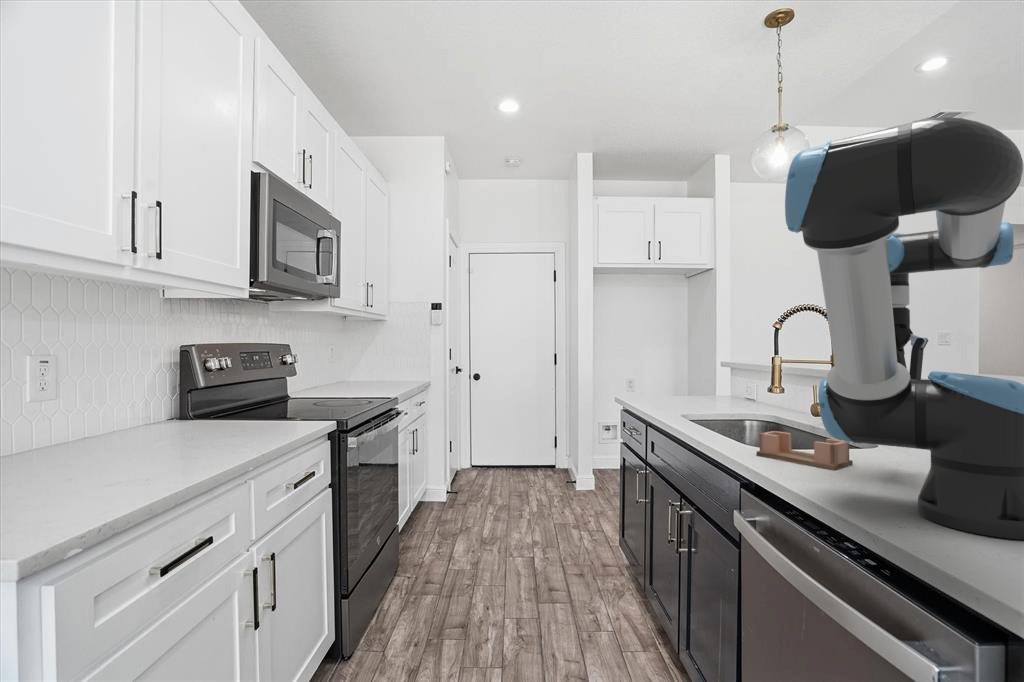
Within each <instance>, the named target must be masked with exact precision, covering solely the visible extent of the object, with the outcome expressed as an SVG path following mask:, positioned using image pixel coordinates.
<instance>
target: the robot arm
mask: <svg viewBox="0 0 1024 682" xmlns="http://www.w3.org/2000/svg"><path fill="white" fill-rule="evenodd" d="M1023 170H1024V160H1023V157H1022V154H1021V151H1020V149H1019V148H1018V146H1017V145H1016V143H1015V142H1013V140H1012V139H1011V138H1010V137H1008V136H1007V135H1006V134H1004V133H1003V132H1001V131H1000V130H998V129H996V128H994V127H992V126H991V125H987V124H985V123H983V122H979V121H977V120H973V119H972V120H971V119H968V118H967V119H966V118H961V117H952V116H950V117H949V116H941V117H940V116H939V117H928V118H922V119H919V120H914V121H912V122H907V123H903V124H900V125H897V126H893V127H888V128H884V129H880V130H876V131H872V132H871V131H870V132H867V133H863V134H859V135H854V136H850V137H845V138H841V139H837V140H833V141H832V140H829V141H827V142H826V143H824V144H823V143H822V144H820V145H816V146H813V147H809V148H806V149H803V150H801V151H799V153H797V154H796V155H795V156H794V157H793V158H792V161H791V163H790V166H789V169H788V172H787V179H786V186H785V195H784V196H785V199H784V215H785V224H786V226H787V229H788V231H790V232H792V233H793V232H794V233H796V234H798V233H800V232H802V237H803V242H804V245H805V246H806V247H808V248H810V249H812V250H814V251H816V254H817V259H818V265H819V271H820V277H821V284H822V285H821V286H822V292H823V297H824V305H825V311H826V316H827V322H828V329H829V337H830V343H831V349H832V354H833V355H832V356H833V361H834V365H833V366H832V367H831V368H830V369H829V371H828V373H827V375H826V376H825V377H823V378H822V379H821V380H820V382H819V385H818V386H819V387H818V392H817V393H818V395H817V398H818V404H819V407H818V408H819V414H820V418H821V421H822V424H823V427H824V428H825V430H826V432H827V433H828V435H829V436H830V437H832V439H834V440H841V441H848V442H849V443H850V442H851V443H854V444H859V445H860V444H865V445H866V444H867V445H877V446H878V445H879V446H889V447H898V448H899V447H900V448H906V449H908V448H909V449H918V450H925V451H930V469H929V470H928V473H927V475H926V477H925V479H924V482H923V485H922V487H921V489H920V492H919V495H918V496H917V497H918V498H917V512H918V515H920V516H922V517H923V518H925V519H927V520H929V521H932V522H934V523H937V524H939V525H942V526H946V527H948V528H951V529H955V530H958V531H963V532H968V533H972V534H976V535H983V536H986V537H987V536H988V537H994V538H999V539H1000V538H1002V539H1010V540H1024V384H1023V383H1021V382H1018V381H1016V380H1011V379H1004V378H999V377H991V376H985V375H976V374H969V373H968V374H966V373H959V372H949V371H948V372H947V371H937V370H936V371H935V370H934V371H930V372H929V374H928V375H927V379H922V372H923V371H922V370H923V359H924V349H925V348H926V346H927V344H928V342H929V339H928V338H927V337H920V336H918V335H916V334H914V333H913V331H912V330H911V316H910V315H911V309H909V308H908V307H907V306H909V305H910V281H909V280H910V279H909V277H910V274H915V273H923V272H924V273H925V272H935V271H936V272H937V271H938V272H939V271H948V270H949V271H950V270H962V269H975V268H980V269H981V268H982V269H985V268H988V267H995V266H996V267H997V266H1001V265H1002V266H1003V265H1007V264H1010V263H1011V262H1012V260H1013V258H1014V256H1013V255H1014V227H1013V225H1012V223H1010V222H1005V221H1003V217H1004V210H1005V206H1006V201H1008V200H1009V199H1010V198H1011V197H1012V196H1013V195H1014V193H1015V192H1016V191H1017V189H1018V187H1019V186H1020V183H1021V180H1022V177H1023V176H1022V175H1023ZM934 211H935V215H936V217H935V219H936V225H937V230H929V231H922V232H921V231H920V232H916V233H915V232H913V233H905V234H904V233H900V232H899V233H898V232H896V231H897V230H898V229H899V225H900V218H899V217H902V216H909V215H915V214H922V213H927V212H928V213H929V212H934ZM1002 221H1003V222H1002ZM909 341H910V345H911V346H912V347H911V353H910V361H909V363H910V364H909V370H908V367H907V364H906V357H905V355H906V354H905V348H904V347H905V346H907V344H908V343H909Z"/></svg>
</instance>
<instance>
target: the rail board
mask: <svg viewBox="0 0 1024 682" xmlns="http://www.w3.org/2000/svg"><path fill="white" fill-rule="evenodd" d="M755 454H756V456H757V457H761V458H762V457H763V458H767V459H771V460H772V459H773V460H777V461H784V462H787V463H793V464H798V465H804V466H809V467H810V466H811V467H814V468H821V469H825V470H828V471H829V470H830V471H837V470H840V469H843V468H846V467H849V466H854V465H853V460H851V459H849V461H848V462H844V463H841V464H837V465H832V464H827V463H821V462H816V461H814V453H810V452H805V451H800V450H794V449H793V450H792V449H791V451H783V450H779V454H772V453H767V452H761V451H760V450H757V451H756V453H755Z"/></svg>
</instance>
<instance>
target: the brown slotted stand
mask: <svg viewBox="0 0 1024 682" xmlns="http://www.w3.org/2000/svg"><path fill="white" fill-rule="evenodd" d="M758 436H759V451H761V452H767V453H772V454H779V450H783V451H791V450H792V433H791V432H786V431H777V430H772V431H766V432H760V433H759V435H758ZM813 445H814V447H813V450H814V451H813V452H814V453H813V454H814V461H816V462H821V463H827V464H832V465H837V464H841V463H844V462H848V461H849V460H850V442H849V441H844V440H838V439H835V438H826V439H825V442H824V441H817V440H816V441H814V442H813Z"/></svg>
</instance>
